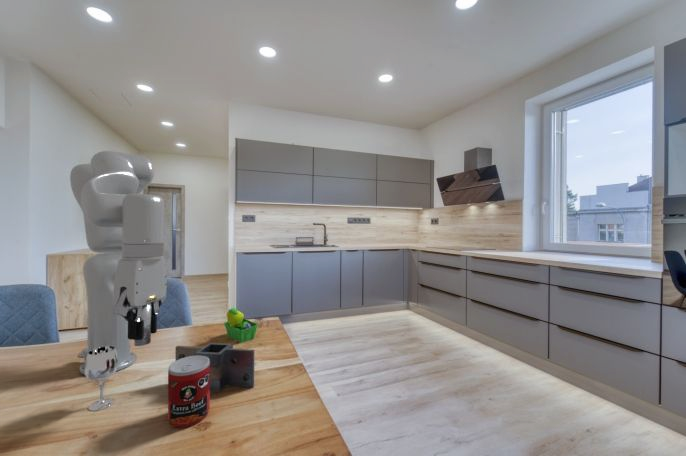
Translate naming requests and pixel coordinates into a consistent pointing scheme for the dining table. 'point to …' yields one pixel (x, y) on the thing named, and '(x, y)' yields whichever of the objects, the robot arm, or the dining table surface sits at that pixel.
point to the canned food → (188, 391)
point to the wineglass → (101, 371)
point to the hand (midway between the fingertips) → (142, 335)
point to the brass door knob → (146, 322)
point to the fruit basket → (239, 326)
